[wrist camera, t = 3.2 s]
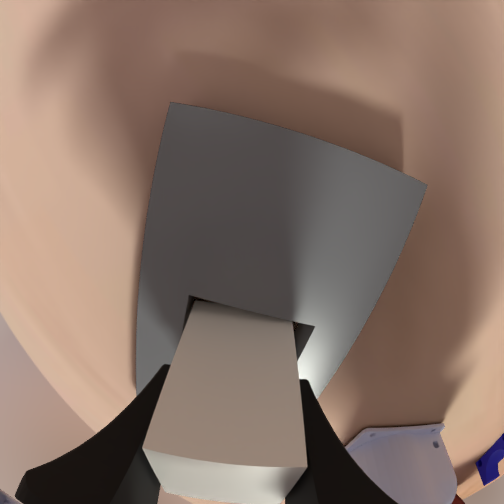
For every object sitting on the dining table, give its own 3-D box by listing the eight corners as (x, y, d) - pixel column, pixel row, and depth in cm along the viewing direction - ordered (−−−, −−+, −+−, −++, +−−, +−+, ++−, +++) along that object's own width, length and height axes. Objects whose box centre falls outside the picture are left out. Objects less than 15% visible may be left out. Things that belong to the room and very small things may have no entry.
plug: (290, 310, 12) (307, 466, 5) (276, 374, 13) (278, 504, 7) (195, 300, 12) (142, 447, 5) (196, 366, 13) (165, 491, 7)
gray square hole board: (403, 176, 10) (427, 184, 8) (272, 433, 17) (272, 456, 15) (186, 107, 10) (170, 102, 8) (146, 404, 16) (138, 426, 15)
